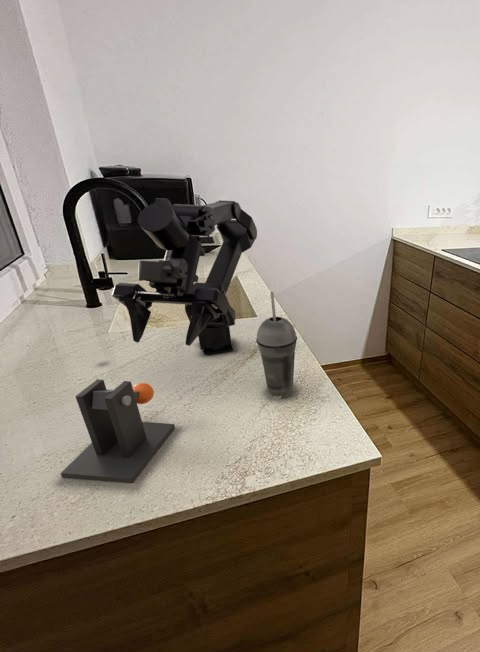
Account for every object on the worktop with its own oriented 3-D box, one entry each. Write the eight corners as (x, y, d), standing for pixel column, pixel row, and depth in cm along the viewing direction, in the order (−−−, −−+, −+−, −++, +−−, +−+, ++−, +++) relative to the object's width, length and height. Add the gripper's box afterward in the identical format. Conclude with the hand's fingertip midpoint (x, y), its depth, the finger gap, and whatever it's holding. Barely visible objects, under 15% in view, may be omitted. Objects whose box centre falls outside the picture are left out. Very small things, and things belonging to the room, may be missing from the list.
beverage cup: (267, 407, 71) (257, 303, 61) (257, 387, 76) (247, 290, 67) (304, 397, 74) (301, 298, 64) (292, 379, 79) (287, 285, 70)
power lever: (137, 401, 64) (138, 381, 64) (157, 403, 64) (158, 382, 64) (87, 412, 53) (88, 387, 53) (111, 413, 52) (113, 388, 52)
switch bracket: (117, 426, 64) (97, 365, 59) (176, 431, 64) (161, 369, 58) (63, 481, 53) (33, 411, 48) (133, 486, 53) (111, 417, 48)
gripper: (103, 236, 64) (76, 322, 60) (213, 242, 64) (194, 330, 59) (141, 270, 75) (120, 345, 70) (235, 275, 74) (220, 352, 70)
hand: (161, 343), depth 67 cm, fingers open, 9 cm apart
